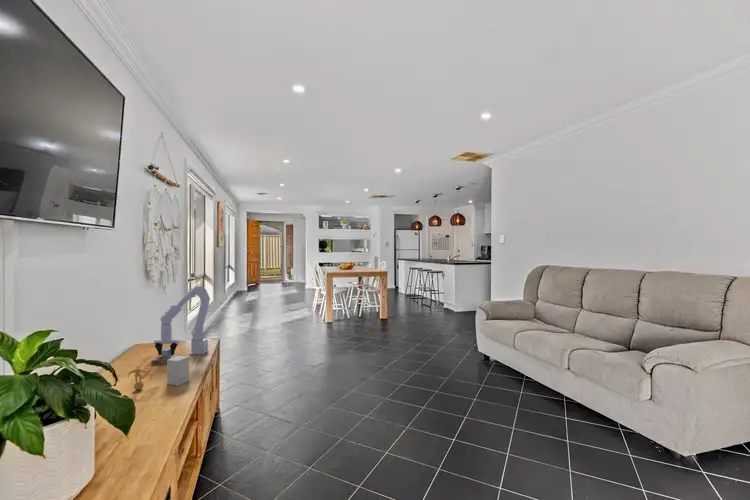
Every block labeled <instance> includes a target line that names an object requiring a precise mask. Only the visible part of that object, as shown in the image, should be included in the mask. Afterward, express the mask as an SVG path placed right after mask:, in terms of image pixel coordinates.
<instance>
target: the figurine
mask: <svg viewBox="0 0 750 500" xmlns="http://www.w3.org/2000/svg"><path fill="white" fill-rule="evenodd" d="M141 372H143V373H145V374H146V375H147V376H148V375H149V374H148V372H147V371H146V370H143V369H140V367H139V366H136V367H135V369H133V370H132V371H129V373H128V375H127V378H130V375H131V374H132V373H135V374H134V378H135V383H134V384H133V388H134V390H135V391H140V390H142V389H143V387H144V385H145V384H144V382H143V381H141V380H142V374H141ZM138 379H139V381H138Z"/></svg>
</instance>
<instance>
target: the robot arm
mask: <svg viewBox="0 0 750 500" xmlns="http://www.w3.org/2000/svg"><path fill="white" fill-rule="evenodd" d="M196 297H198V298H199V299H200V300H201V302H200V304H199V308H198V309H199V310H198V314H197V317H196V320H195V321H196V322H195V324H194V327H193V329H192V330H191V333H190V335H191V337H192V338H191V339H190V344H191V345H190V347H191V351H190V352H189V353H188V355H204V354H205V353H207V352H209V342H208V341H209V340H208V339H205V338H204V324H205V321H206V316H207V312H208V308H209V304H210V300H211V297H210V295H209V293H208V290H207V289H206V288H205V287H204V286H203V285H201V284H196V285H194V286H193V288H191V289H190V290H188V292H186V293H185V295H184V296H183V297H182V298H181V299H180V301H179V302H178V303H175V304H173V305H171V306H170V308H169V309H168V310H167V311H165V312H164V314H162V315H161V317H160V321H161V323H160V339H155V340H154V341H153V344H154V348H155V349H156V352H157V353H158V357H161V350H163V345H164V344H165V345H166V344H170V345H169V347H170V348H169V349H171V357H172V356H173V357H174V355H175V352H176V349H177V347H178V345H179V343H180V341H179V340H180V339H172V322H173V319H174V318H175V317H177V316H178V314H179V313H180V312H181V311H182V307H183V306H184V305H186V303H188V302H189V300H191V299H192V298H196Z"/></svg>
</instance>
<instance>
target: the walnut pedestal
mask: <svg viewBox="0 0 750 500" xmlns="http://www.w3.org/2000/svg"><path fill="white" fill-rule="evenodd" d="M168 359H171V357H161V356H157V357H155V358H154V359H152V360H151V366H164V365H167V360H168Z"/></svg>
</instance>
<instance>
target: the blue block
mask: <svg viewBox="0 0 750 500" xmlns="http://www.w3.org/2000/svg"><path fill="white" fill-rule="evenodd" d="M160 357H170V358H172V356H171V348H162V350H161V355H160Z"/></svg>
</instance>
